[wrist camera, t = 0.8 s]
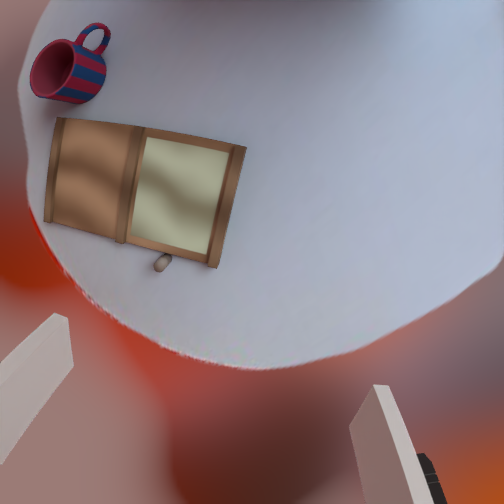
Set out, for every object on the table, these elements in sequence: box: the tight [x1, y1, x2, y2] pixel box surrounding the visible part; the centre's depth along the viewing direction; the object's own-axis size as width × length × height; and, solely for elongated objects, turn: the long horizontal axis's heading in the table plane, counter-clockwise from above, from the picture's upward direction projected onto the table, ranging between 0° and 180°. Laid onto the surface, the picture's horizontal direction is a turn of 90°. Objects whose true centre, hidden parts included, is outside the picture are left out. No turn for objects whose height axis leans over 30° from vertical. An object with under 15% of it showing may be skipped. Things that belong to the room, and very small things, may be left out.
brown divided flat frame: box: [44, 117, 247, 272], centre depth 32 cm, size 15×23×3 cm, turn 76°
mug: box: [30, 23, 111, 104], centre depth 26 cm, size 7×10×7 cm
